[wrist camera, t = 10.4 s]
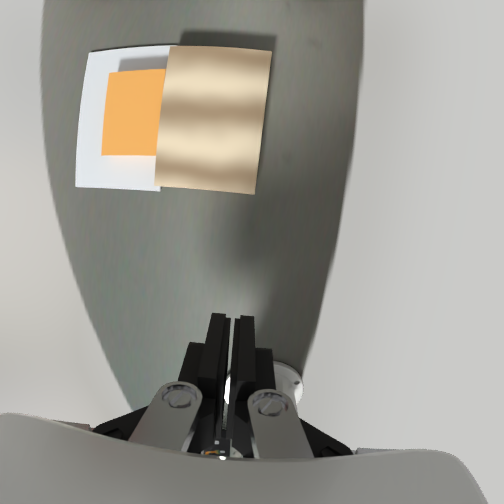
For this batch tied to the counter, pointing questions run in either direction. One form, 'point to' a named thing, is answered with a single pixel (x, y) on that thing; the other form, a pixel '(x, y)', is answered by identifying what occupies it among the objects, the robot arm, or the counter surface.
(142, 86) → the slab
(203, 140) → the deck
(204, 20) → the counter surface
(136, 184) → the mat
